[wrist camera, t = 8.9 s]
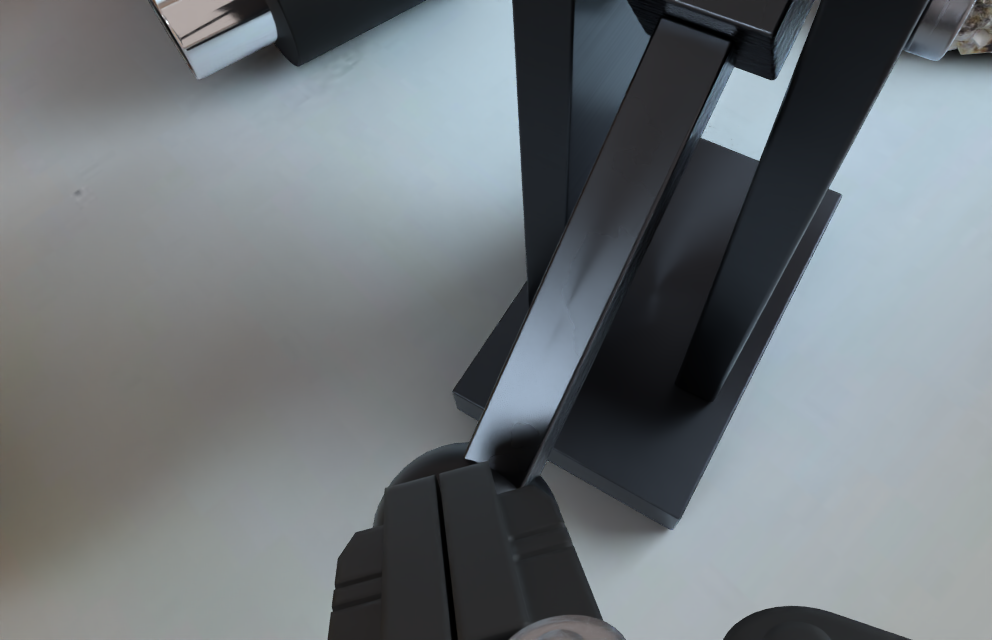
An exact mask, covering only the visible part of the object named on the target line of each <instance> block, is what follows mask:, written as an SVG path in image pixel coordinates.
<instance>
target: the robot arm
mask: <svg viewBox="0 0 992 640" xmlns="http://www.w3.org/2000/svg"><path fill="white" fill-rule="evenodd" d="M439 478H440V486H439V483H438V480H437V477H436V475H432V476H428V477H424V478H421V479H417V480H413V481H409V482H406V483H402V484H398V485H395V486H391V487H387V488H385V492H384V525H381V526H378V527H374V528H370V529H367V530H363V531H359V532H356V533H355V534H354V535H353V537H352V538H351V540H350V541H349V543H348V544H347V546H346V547H345V549H344V550H343V552H342V553H341V555H340V556H339V558H338V561H337V569H336V577H335V590H334V593H333V601H332V610H333V612H331V617H330V625H329V633H328V640H626V639H625V638H624V636H623V635H622V634H621V633H620V632H619V631H618V630H617V629H616V628H615V627H613V626H611V625H610V624H608V623H607V622H604V621H603V619H602V616H601V614H600V611H599V609H598V606H597V604H596V601H595V599H594V596H593V593H592V591H591V588H590V586H589V583H588V581H587V578H586V576H585V573H584V571H583V568H582V566H581V563H580V561H579V558H578V556H577V553H576V551H575V548H574V546H573V544H572V541H571V538H570V536H569V533H568V531H567V528H566V526H565V524H564V521H563V518H562V515H561V513H560V510H559V508H558V505H557V503H556V500H555V499H554V498H552V497H551V496H549V495H548V494H546V493H545V492H543V491H542V490H541V489H539V488H538V487H536V486H535V485H529V486H526V487H522V488H518V489H514V490H511V491H507V492H503V493H500V494H497V492H496V489H495V485H494V481H493V477H492V473H491V469H490V465H489V462H488V461H484V462H481V463H477V464H473V465H469V466H466V467H462V468H458V469H455V470H451V471H447V472H443V473H440V474H439ZM440 487H441V489H440ZM723 640H911V639H908V638H905V637H902V636H899V635H896V634H893V633H890V632H887V631H884V630H882V629H879V628H876V627H873V626H870V625H867V624H864V623H861V622H858V621H855V620H852V619H849V618H846V617H843V616H840V615H837V614H834V613H831V612H828V611H824V610H821V609H816V608H810V607H802V606H783V607H775V608H769V609H765V610H762V611H759V612H756V613H753V614H751V615H749V616H747V617H745V618H743V619H742V620H741V621H739V622H738V623H736V624H735V625H734V626H733V627H732V628H731V629H730V630H729V631H728V633H727V634H726V636H725V637H724V639H723Z"/></svg>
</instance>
